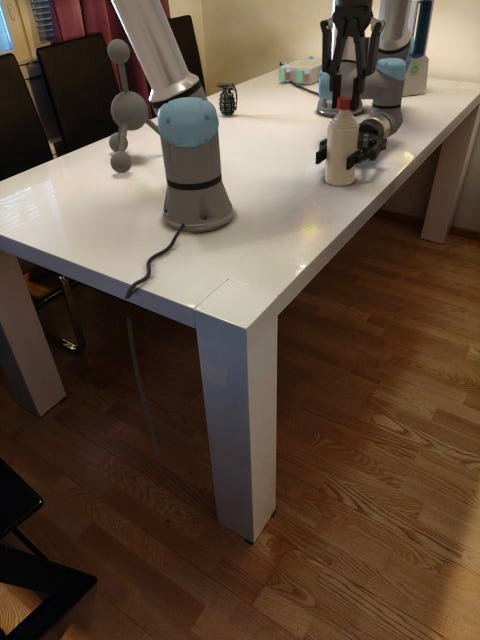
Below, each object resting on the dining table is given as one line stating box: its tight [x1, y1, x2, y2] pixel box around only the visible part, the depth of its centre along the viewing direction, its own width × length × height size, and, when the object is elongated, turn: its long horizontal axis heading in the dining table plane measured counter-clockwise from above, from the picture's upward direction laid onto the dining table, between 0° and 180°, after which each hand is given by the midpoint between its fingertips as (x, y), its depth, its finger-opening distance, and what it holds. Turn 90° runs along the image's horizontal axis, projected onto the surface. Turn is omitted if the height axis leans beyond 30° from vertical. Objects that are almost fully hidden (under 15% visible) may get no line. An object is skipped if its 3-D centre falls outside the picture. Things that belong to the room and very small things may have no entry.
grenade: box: [215, 82, 238, 117], centre depth 166 cm, size 7×6×10 cm
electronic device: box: [402, 0, 435, 97], centre depth 172 cm, size 12×8×30 cm, turn 105°
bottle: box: [324, 110, 360, 187], centre depth 115 cm, size 7×7×19 cm
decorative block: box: [277, 55, 322, 85], centre depth 206 cm, size 26×6×20 cm
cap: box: [336, 96, 352, 110], centre depth 109 cm, size 4×4×2 cm
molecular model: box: [107, 38, 160, 174], centre depth 130 cm, size 24×22×30 cm
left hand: (345, 108), depth 110 cm, fingers closed on cap, 4 cm apart
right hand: (332, 161), depth 113 cm, fingers closed on bottle, 7 cm apart
